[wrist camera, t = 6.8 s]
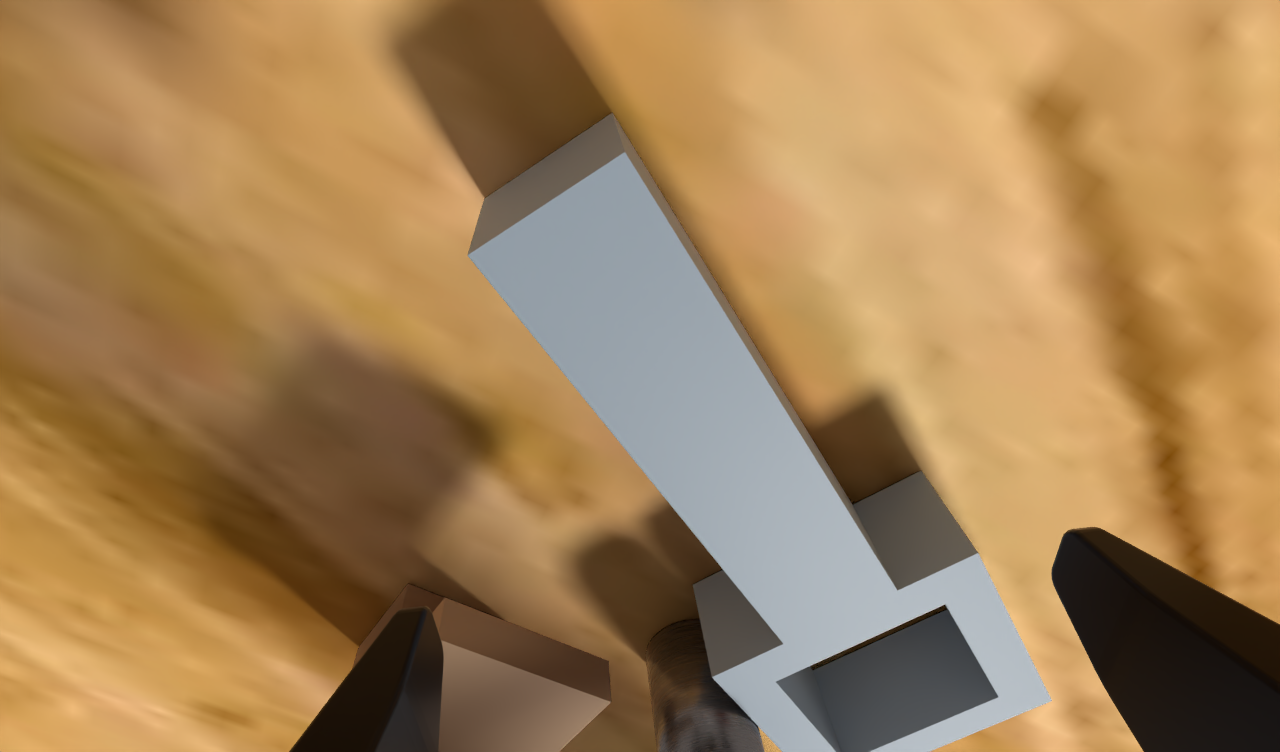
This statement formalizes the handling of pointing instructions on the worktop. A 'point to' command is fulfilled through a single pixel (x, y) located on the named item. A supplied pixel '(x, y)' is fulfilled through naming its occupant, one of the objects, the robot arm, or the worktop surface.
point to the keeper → (505, 681)
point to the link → (751, 475)
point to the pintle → (693, 697)
